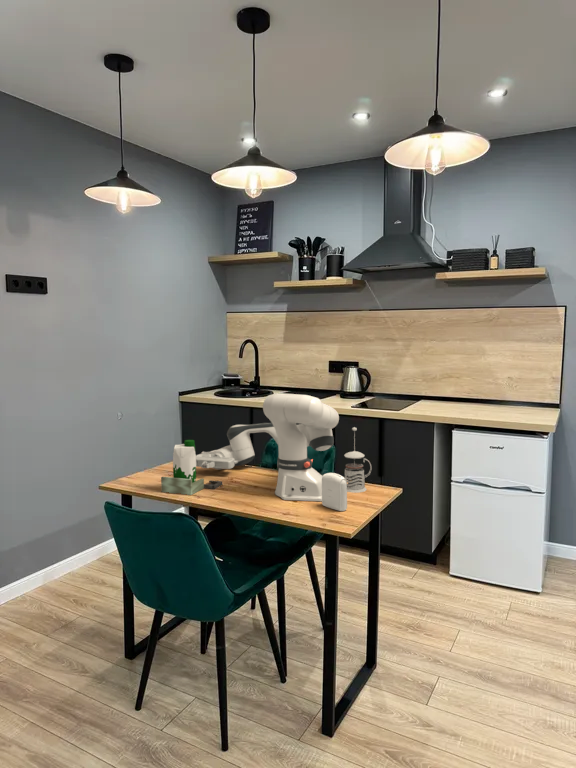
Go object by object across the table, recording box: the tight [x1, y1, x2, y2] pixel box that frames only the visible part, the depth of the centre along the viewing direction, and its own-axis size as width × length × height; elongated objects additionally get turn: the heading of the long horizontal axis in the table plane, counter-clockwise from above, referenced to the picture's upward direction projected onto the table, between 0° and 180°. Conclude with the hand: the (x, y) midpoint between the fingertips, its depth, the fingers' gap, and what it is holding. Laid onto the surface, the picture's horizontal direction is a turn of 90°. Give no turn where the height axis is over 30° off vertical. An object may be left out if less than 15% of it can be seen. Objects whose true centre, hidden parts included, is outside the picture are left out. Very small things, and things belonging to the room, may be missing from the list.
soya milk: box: [172, 439, 197, 483], centre depth 212 cm, size 9×9×20 cm
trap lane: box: [160, 476, 223, 496], centre depth 215 cm, size 23×17×6 cm
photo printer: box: [321, 472, 348, 512], centre depth 187 cm, size 10×4×12 cm, turn 39°
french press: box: [343, 426, 373, 494], centre depth 210 cm, size 10×12×25 cm
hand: (204, 466), depth 229 cm, fingers closed
